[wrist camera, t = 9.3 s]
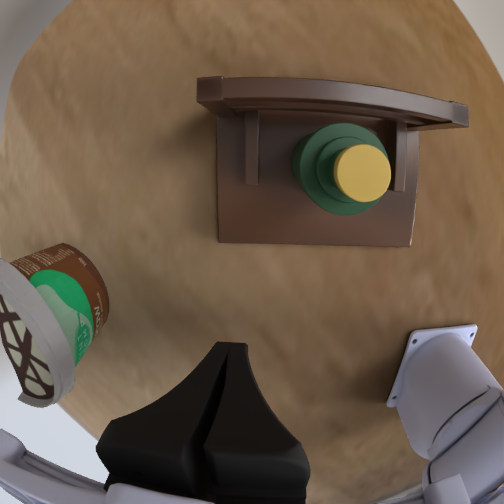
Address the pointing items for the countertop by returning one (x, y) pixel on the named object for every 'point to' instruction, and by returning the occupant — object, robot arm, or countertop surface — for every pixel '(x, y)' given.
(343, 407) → the countertop surface
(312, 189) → the bottle
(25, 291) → the food container
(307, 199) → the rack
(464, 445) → the robot arm
